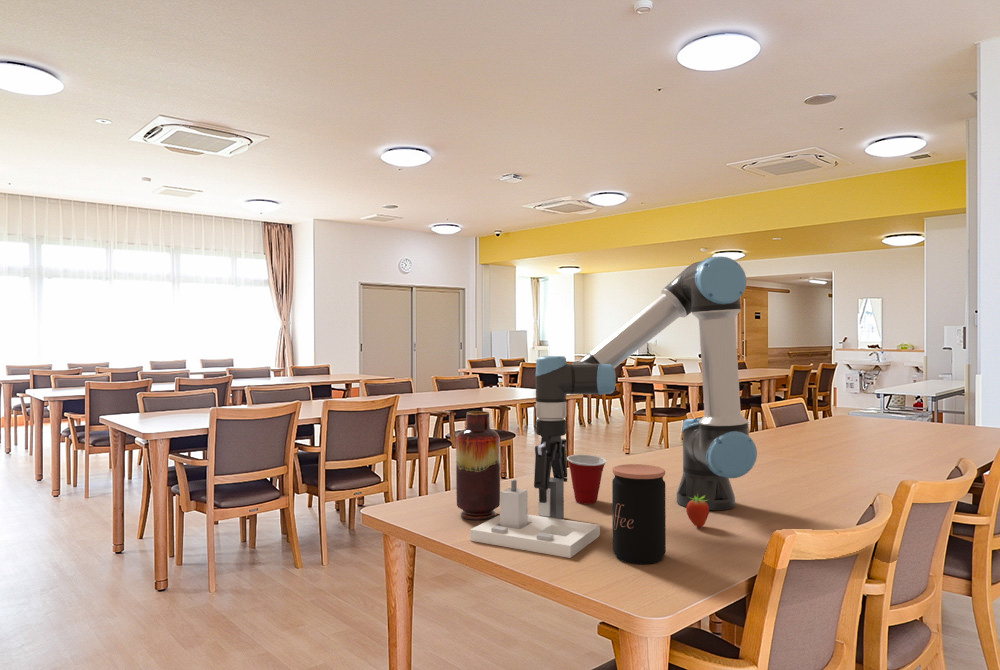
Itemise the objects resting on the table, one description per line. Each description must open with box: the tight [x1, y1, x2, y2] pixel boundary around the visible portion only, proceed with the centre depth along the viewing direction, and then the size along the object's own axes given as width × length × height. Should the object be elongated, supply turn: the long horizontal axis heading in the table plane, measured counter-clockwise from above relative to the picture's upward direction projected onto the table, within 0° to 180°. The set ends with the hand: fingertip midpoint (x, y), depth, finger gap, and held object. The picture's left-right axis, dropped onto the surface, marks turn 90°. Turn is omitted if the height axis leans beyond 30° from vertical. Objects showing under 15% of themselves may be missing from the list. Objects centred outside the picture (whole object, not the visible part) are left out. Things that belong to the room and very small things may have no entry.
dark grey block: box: [538, 476, 565, 520], centre depth 163 cm, size 5×5×10 cm
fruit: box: [685, 494, 710, 528], centre depth 156 cm, size 5×5×8 cm
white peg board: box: [469, 479, 601, 559], centre depth 148 cm, size 24×17×12 cm
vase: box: [455, 410, 501, 521], centre depth 167 cm, size 11×11×26 cm
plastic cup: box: [566, 453, 607, 505], centre depth 181 cm, size 11×11×12 cm
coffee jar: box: [611, 463, 667, 565], centre depth 136 cm, size 11×11×18 cm
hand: (551, 511), depth 163 cm, fingers open, 7 cm apart
